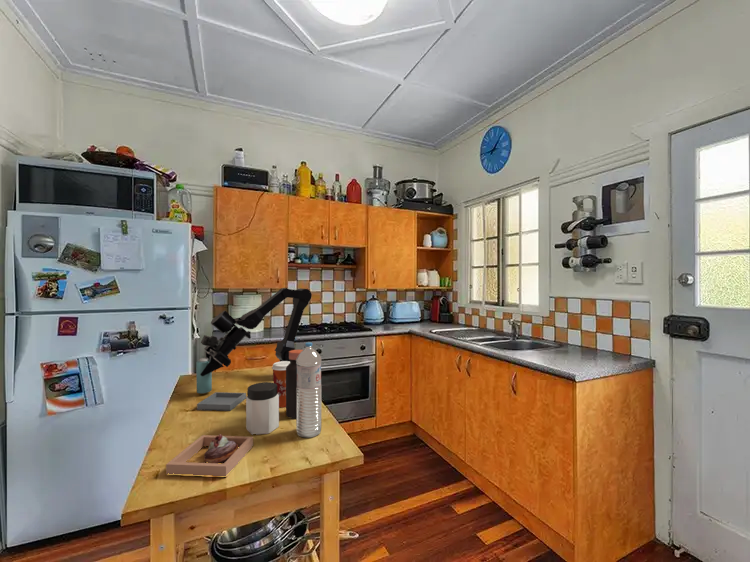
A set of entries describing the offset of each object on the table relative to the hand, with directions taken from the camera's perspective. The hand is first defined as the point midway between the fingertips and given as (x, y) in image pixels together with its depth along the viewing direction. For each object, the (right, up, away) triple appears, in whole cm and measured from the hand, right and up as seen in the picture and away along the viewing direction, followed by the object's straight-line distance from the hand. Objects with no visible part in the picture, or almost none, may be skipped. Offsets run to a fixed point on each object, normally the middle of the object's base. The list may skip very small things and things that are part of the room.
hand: (199, 373), depth 122 cm
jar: (+32, -8, -27) cm, 43 cm away
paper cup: (+34, -8, -9) cm, 36 cm away
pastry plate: (+26, -8, -44) cm, 52 cm away
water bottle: (+46, -8, -30) cm, 56 cm away
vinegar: (+40, -8, -18) cm, 44 cm away
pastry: (+28, -8, -42) cm, 51 cm away
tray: (+13, -8, -9) cm, 17 cm away
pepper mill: (+1, -7, +1) cm, 7 cm away
